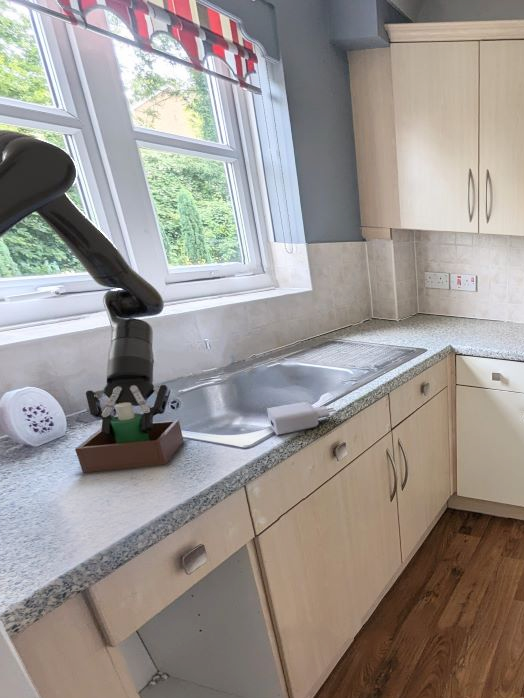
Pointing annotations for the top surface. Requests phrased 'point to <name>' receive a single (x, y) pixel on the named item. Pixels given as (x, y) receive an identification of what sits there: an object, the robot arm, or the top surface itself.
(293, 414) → the charger
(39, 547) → the top surface
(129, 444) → the tray
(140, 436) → the green bottle
